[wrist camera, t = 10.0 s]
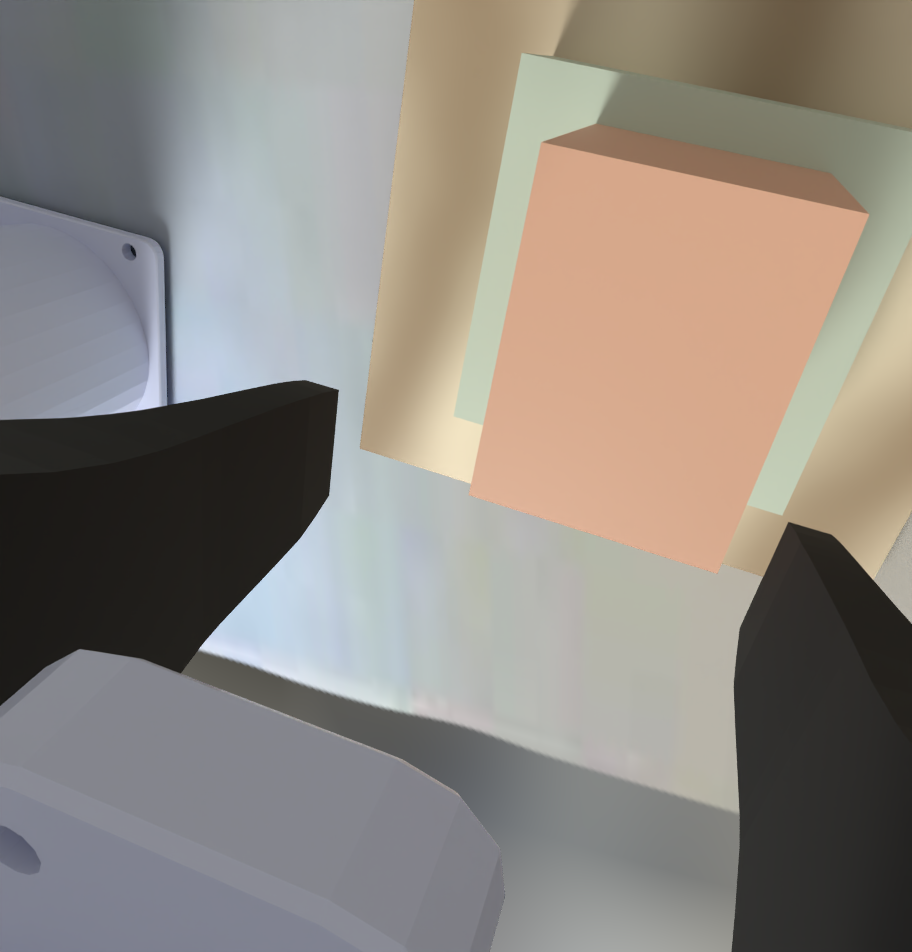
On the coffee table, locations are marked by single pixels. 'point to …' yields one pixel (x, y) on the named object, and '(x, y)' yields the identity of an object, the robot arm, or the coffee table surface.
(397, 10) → the coffee table surface
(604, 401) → the terracotta brick
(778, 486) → the sage brick
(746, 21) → the baseplate
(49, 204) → the coffee table surface
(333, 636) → the coffee table surface
